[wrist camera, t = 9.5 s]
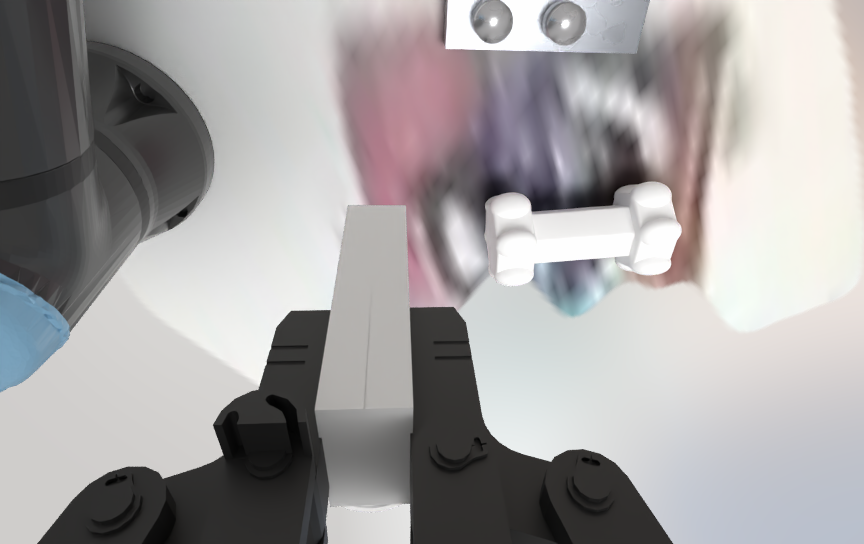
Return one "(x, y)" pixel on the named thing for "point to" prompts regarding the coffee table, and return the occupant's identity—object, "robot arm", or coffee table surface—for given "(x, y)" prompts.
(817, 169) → the coffee table surface
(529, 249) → the bone shaped toy
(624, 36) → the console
